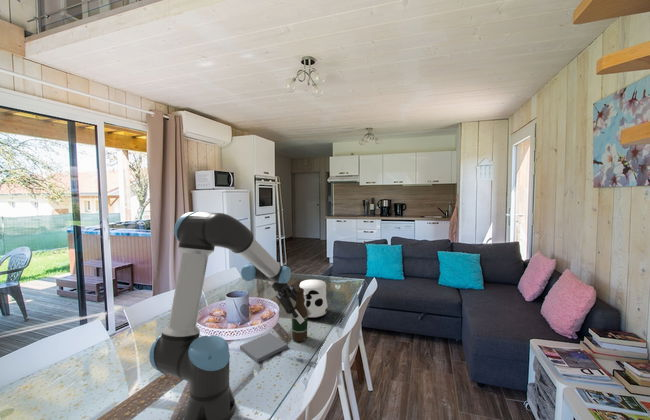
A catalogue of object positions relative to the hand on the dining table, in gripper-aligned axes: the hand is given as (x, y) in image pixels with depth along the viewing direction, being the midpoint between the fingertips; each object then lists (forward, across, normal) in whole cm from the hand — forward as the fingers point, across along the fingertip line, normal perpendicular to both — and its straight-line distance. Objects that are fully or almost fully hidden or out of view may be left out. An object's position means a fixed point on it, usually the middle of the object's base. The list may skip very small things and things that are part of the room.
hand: (306, 318), depth 133 cm
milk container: (+1, -27, -14) cm, 30 cm away
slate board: (-3, +14, -18) cm, 23 cm away
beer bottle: (+5, 0, -10) cm, 11 cm away
